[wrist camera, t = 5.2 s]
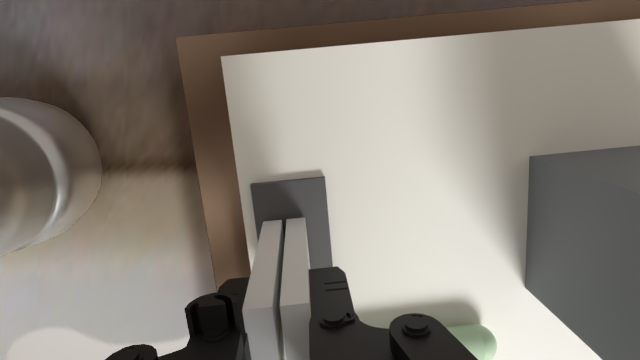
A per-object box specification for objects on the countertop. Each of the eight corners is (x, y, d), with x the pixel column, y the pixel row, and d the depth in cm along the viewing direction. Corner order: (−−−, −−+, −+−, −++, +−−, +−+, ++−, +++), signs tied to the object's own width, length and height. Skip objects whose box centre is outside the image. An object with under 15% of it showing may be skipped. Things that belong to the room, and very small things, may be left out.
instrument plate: (735, 337, 21) (1059, 529, 12) (272, 388, 21) (251, 630, 12) (794, 7, 18) (1331, -70, 8) (226, 58, 17) (142, 35, 8)
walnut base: (677, 318, 25) (730, 353, 22) (244, 364, 24) (236, 406, 21) (721, -4, 20) (796, -19, 17) (194, 43, 20) (175, 37, 17)
